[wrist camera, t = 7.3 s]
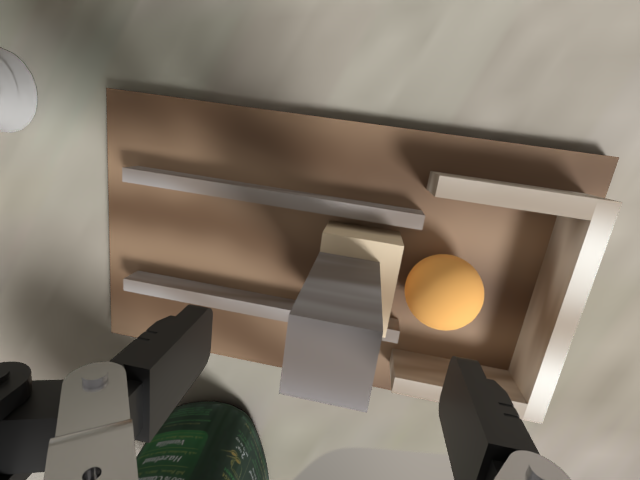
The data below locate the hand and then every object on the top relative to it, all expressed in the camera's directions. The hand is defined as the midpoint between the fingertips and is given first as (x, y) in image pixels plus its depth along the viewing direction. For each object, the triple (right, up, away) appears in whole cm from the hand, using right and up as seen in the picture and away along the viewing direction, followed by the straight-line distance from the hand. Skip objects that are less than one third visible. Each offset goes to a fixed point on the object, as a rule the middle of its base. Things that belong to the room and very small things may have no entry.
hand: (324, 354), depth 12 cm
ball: (+6, +1, +7) cm, 10 cm away
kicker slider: (+2, +2, +9) cm, 10 cm away
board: (0, +3, +11) cm, 11 cm away
